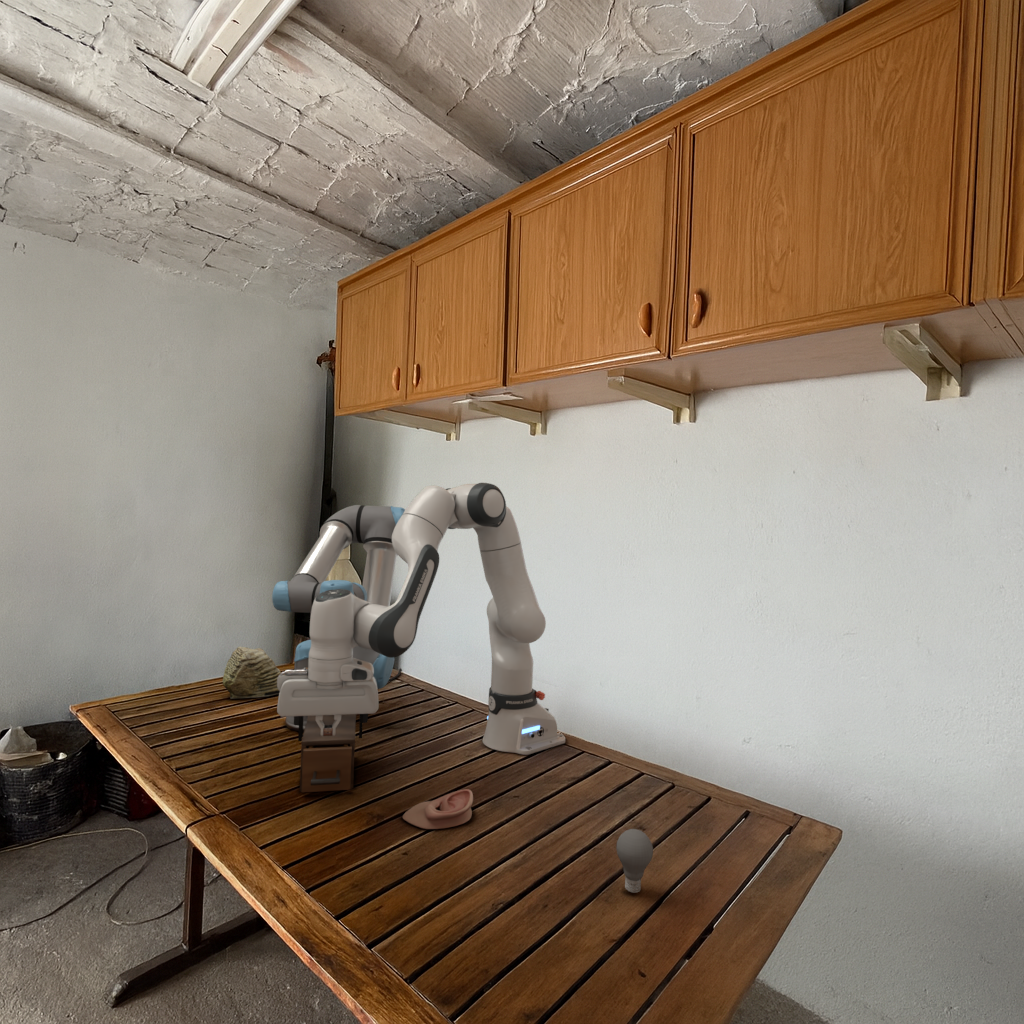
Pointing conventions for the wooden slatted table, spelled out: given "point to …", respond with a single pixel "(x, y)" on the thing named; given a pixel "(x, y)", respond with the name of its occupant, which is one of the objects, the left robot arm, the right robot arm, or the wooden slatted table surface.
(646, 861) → the light bulb
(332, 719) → the cabinet
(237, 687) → the fossil
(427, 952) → the wooden slatted table surface
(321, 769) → the drawer
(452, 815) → the anatomical model
